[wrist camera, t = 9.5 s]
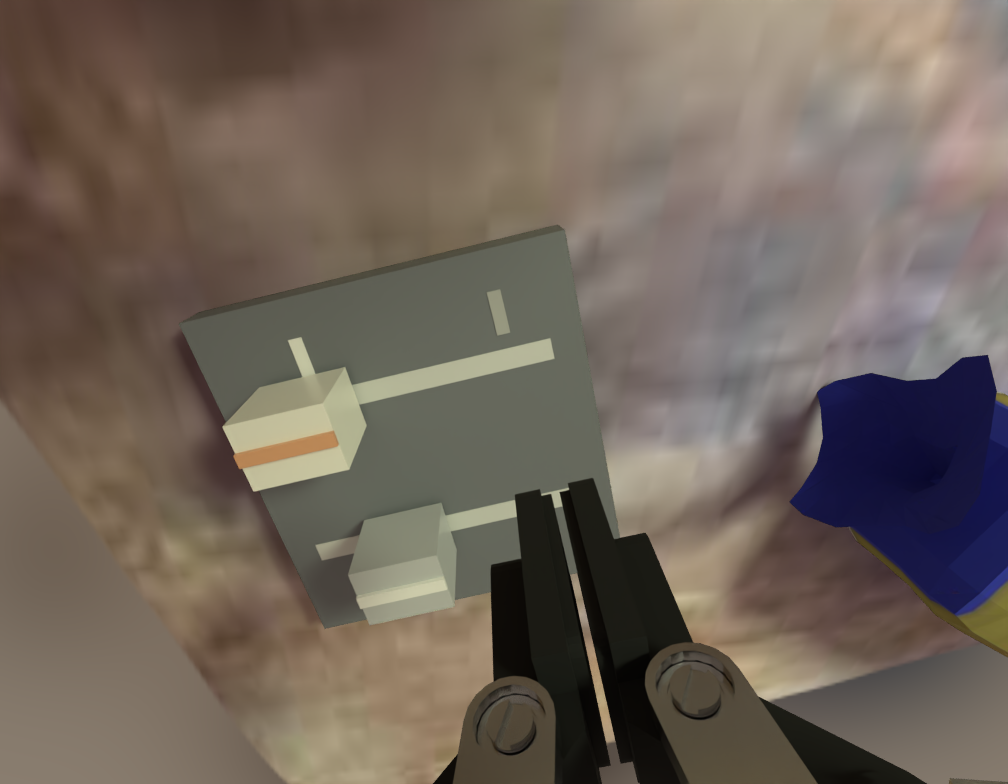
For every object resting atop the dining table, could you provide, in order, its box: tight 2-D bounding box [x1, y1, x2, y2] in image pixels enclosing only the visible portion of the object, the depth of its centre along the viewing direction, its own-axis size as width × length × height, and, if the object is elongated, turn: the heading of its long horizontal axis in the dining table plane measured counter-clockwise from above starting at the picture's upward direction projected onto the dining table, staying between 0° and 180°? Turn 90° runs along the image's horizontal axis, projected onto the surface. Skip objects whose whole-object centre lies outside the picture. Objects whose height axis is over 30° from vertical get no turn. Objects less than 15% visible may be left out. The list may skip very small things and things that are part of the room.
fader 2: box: [348, 503, 457, 625], centre depth 26 cm, size 4×3×4 cm
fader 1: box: [222, 367, 367, 492], centre depth 23 cm, size 4×3×4 cm
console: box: [179, 225, 620, 629], centre depth 28 cm, size 17×18×2 cm
